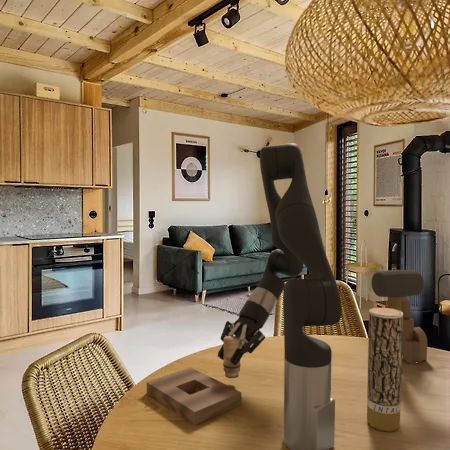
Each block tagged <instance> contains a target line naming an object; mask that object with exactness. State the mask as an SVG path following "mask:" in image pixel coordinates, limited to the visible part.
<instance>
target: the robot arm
mask: <svg viewBox="0 0 450 450" xmlns="http://www.w3.org/2000/svg"><path fill="white" fill-rule="evenodd" d="M259 151H260V152H259V164H260V165H259V167H260V174H261V180H262V185H263V192H264V194H265V195H264V196H265V201H266V204H267V209H268V215H269V221H270V222H269V223H270V231H271V232H270V233H271V242H272V245H273V247H275V248H276V249H274V250H273V251H271V252H270V253H269V255H268V257H267V260H266V261H267V262H266V266H265V269H264V271H263V275H262V277H261V279H260V280H259V282H258V284H257V285H256V288H255V289H254V290H253V291H252V293H250V295H249V297H248V298H247V300H246V301H245V303H244V304H243V306H242V308H241V310H239V313H238V319H236V320H235V321H234V322H231V321H229V320H227V321H226V322H225V324H224V327H223V330H222V333H221V335H220V337H219V338H220V340H221V342H222V343H223V344H222V345H221V347H220V349H219V350H218V352H217V357H218V358H219V359H220V360H222V361H224V337H227V336H236V337H239V338H240V343H239V347H238V348H239V349H236V351H235V352H234V354H233V356H232V357H231V359H230V362H231V363H232V364H234V365H236V364H238V363H239V361H240V362H241V360H242V358H243V356H244V355H245V354H247V353H248V354H252V353H254V352H255V350H256V349H257V348H258V347H259V346H260V345H261V343H262V342H263V341H264V340H265V339H266V336H265V334H264V333H263V332H262V331H261V329H262V328H264V326H265V324H266V323H267V321H268V319H269V317H270V316H271V313H273V310H274V309H275V306H276V304H277V302H278V300H279V298H280V297H281V295H282V307H283V308H282V309H283V311H282V312H283V331H284V332H283V335H284V336H283V339H284V340H283V343H284V344H283V345H284V359H283V362H284V363H283V365H284V366H283V367H284V368H283V369H284V370H283V443H284V445H285V447H287V448H288V449H289V450H331V449H333V447H335V434H336V433H335V429H336V428H335V426H336V425H335V421H336V419H335V418H336V400H335V399H334V398H332V397H331V396H332V357H333V356H332V352H333V351H332V347H331V346H330V345H329V344H328V343H327V342H325V340H321V339H319V338H315V337H313V336H311V335H309V334H306V333H305V332H304V328H303V327H320V326H321V327H323V326H326V327H327V326H328V327H329V326H334V325H336V324H338V323H339V322H340V321H341V319H342V312H343V306H342V304H343V303H342V299H341V298H342V297H341V293H340V291H339V288H338V285H337V281H336V277H335V275H334V273H333V270H332V267H331V265H330V262H329V259H328V257H327V254H326V250H325V246H324V243H323V239H322V234H321V231H320V225H319V221H318V217H317V214H316V211H315V208H314V203H313V200H312V197H311V193H310V190H309V186H308V181H307V176H306V169H305V165H304V164H305V163H304V159H303V153H302V151H301V148H300V147H299V145H298V144H297V143H294V142H293V143H292V142H291V143H280V144H273V145H272V144H271V145H266V146H263V147H262V148H261V149H260V150H259ZM289 179H291V182H290V184H289V187H288V188H287V189H286V191H285V193H283V196H281V195H280V194H279V192H278V191H277V189H276V186H275V185H276V184H275V181H280V180H289ZM304 266H305V268H306V269H307V271H308V273H309V275H310V277H311V278H295V277H298V276H300V274H301V273H302V272H303V269H304ZM277 274H281V275H285V276H287V277H291V278H292V279H288V280H287V281H286V282H284V280H283V279H282V278H281V277H280V276H278V275H277ZM282 293H283V294H282Z"/></svg>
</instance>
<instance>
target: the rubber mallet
mask: <svg viewBox="0 0 450 450" xmlns="http://www.w3.org/2000/svg"><path fill="white" fill-rule="evenodd" d="M424 283H425V282H424V278H423V276H422V274H421V273H420V272H419V271H417V270H416V269H415V270H411V269H390V270H389V269H388V270H381V271H376V272H374V273H373V275H372V278H371V289H372V291H373V293H374V294H375V295H376V296H377V297H379V298H380V297H382V298H388V297H392V309H395V310H399V311H401V297H413V296H418V295H420V294H421V293H422V292H423V290H424V286H425V284H424ZM402 348H403V337H402ZM403 373H404V370H403V368H402V374H401V376H402V375H403Z"/></svg>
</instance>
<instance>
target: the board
mask: <svg viewBox="0 0 450 450" xmlns="http://www.w3.org/2000/svg"><path fill="white" fill-rule="evenodd" d="M193 392H194V393H193ZM191 393H192V394H191ZM146 395H148V396H150V397H151V398H153V399H155V400H156V401H157V402H159V403H160V404H162V405H164V407H166V408H168V409H169V410H171V412H173V413H176V414H177V415H178V416H180V417H182V418H183V419H185V421H188V422H189V423H190V424H192V425H193V426H197V425H199V424H202V423H203V422H205V421H207V420H210V419H212V418H215V417H217V416H219V415H221V414H223V413H225V412H228V411H230V410H232V409H234V408H237V407H239V406H240V405H242V391H240V390H238V389H236V388H234V387H232V386H229V385H228V384H226V383H223V382H221V381H220V380H218V379H215V378H214V377H212V376H209V375H207V374H206V373H204V372H201V371H199V370H197V369H196V368H193V367H191V366H190V367H187V368H184V369H181V370H178V371H175V372H172V373H169V374H166V375H163V376H161V377H157V378H154V379H151V380H148V381H146Z"/></svg>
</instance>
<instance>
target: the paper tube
mask: <svg viewBox="0 0 450 450" xmlns="http://www.w3.org/2000/svg"><path fill="white" fill-rule="evenodd" d="M402 337H403V312H401V311H399V310H395V309H390V308H387V307H373V308H370V309H369V313H368V346H367V347H368V348H367V349H368V352H367V389H366V390H367V391H366V392H367V393H366V394H367V395H366V396H367V397H366V420H367V421H366V422H368V424H369V426H371V427H372V428H374V429H376V430H378V431H381V432H395V431H397V430H399V428H400V426H401V406H402V405H401V403H402V400H401V399H402V375H403V373H402V369H403V356H402ZM401 374H402V375H401Z"/></svg>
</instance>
